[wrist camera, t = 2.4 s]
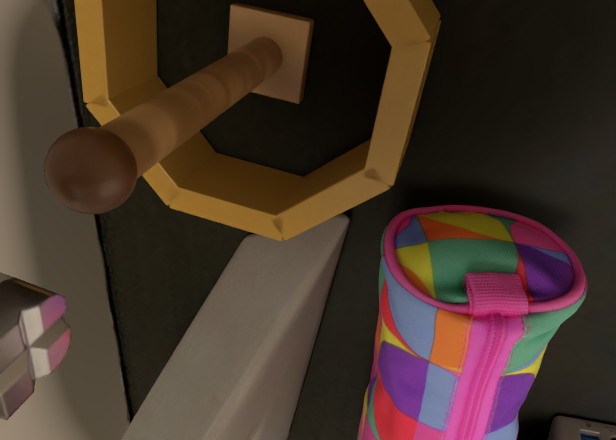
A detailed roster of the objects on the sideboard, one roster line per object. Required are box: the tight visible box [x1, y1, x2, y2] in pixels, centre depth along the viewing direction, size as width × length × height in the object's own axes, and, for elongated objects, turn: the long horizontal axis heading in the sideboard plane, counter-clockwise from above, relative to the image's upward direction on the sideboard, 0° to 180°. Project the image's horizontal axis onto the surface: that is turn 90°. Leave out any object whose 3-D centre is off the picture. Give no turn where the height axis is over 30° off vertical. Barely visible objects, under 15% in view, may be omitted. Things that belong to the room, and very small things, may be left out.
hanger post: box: [44, 2, 314, 214], centre depth 20 cm, size 4×4×15 cm
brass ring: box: [74, 0, 441, 241], centre depth 25 cm, size 15×15×4 cm
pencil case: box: [357, 205, 587, 440], centre depth 28 cm, size 22×9×9 cm, turn 0°
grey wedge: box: [121, 213, 350, 440], centre depth 33 cm, size 15×6×20 cm
